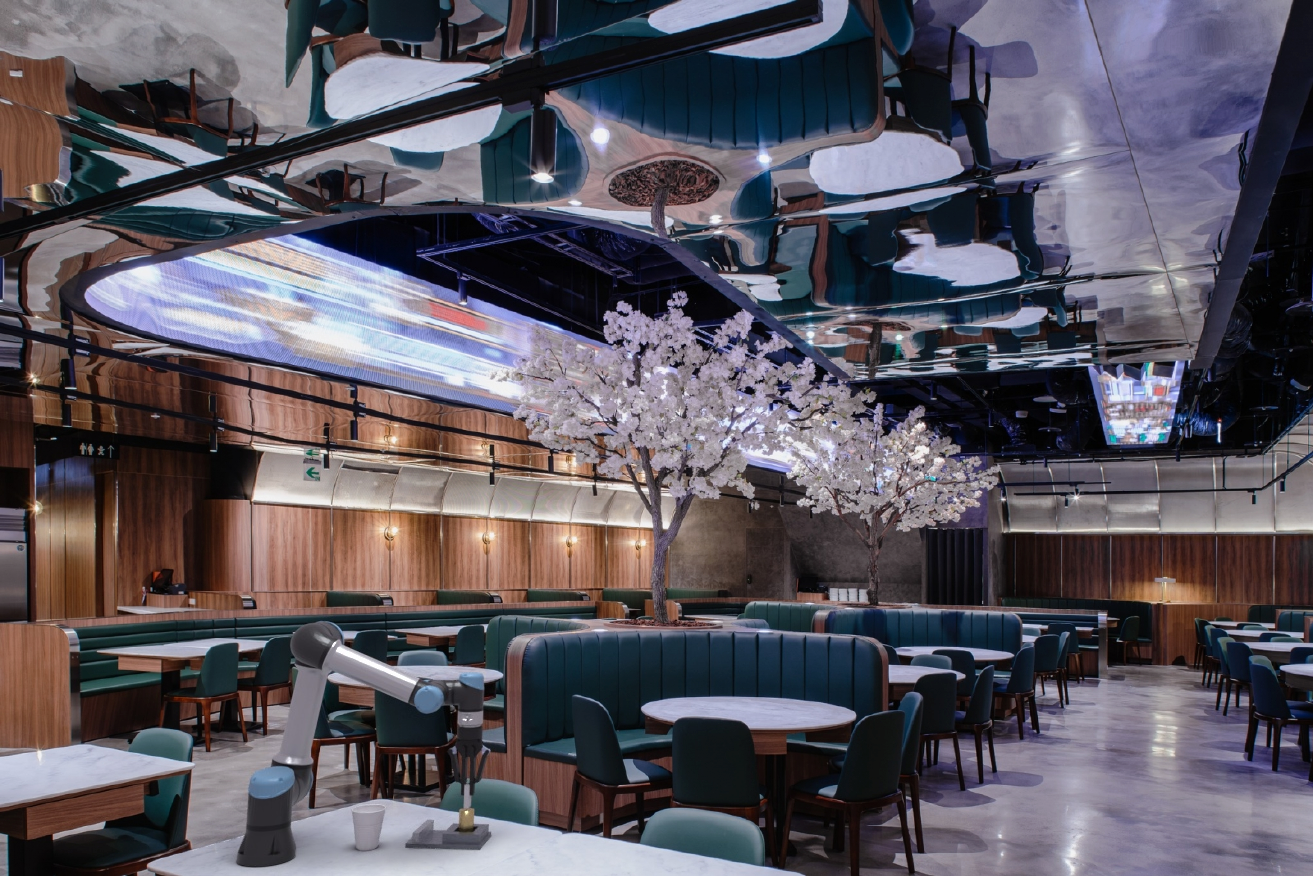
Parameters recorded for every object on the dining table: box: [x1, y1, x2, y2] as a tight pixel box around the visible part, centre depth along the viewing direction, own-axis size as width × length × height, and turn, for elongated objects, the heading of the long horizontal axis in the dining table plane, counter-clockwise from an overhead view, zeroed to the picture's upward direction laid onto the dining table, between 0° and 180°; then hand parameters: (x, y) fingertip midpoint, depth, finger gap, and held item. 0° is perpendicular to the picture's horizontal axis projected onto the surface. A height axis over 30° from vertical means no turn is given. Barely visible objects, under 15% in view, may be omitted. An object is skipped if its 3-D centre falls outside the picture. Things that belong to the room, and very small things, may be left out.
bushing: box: [458, 807, 475, 832], centre depth 266 cm, size 4×4×8 cm
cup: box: [351, 803, 388, 852], centre depth 260 cm, size 10×10×11 cm
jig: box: [404, 819, 492, 851], centre depth 266 cm, size 22×14×4 cm, turn 87°
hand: (467, 806), depth 267 cm, fingers closed
